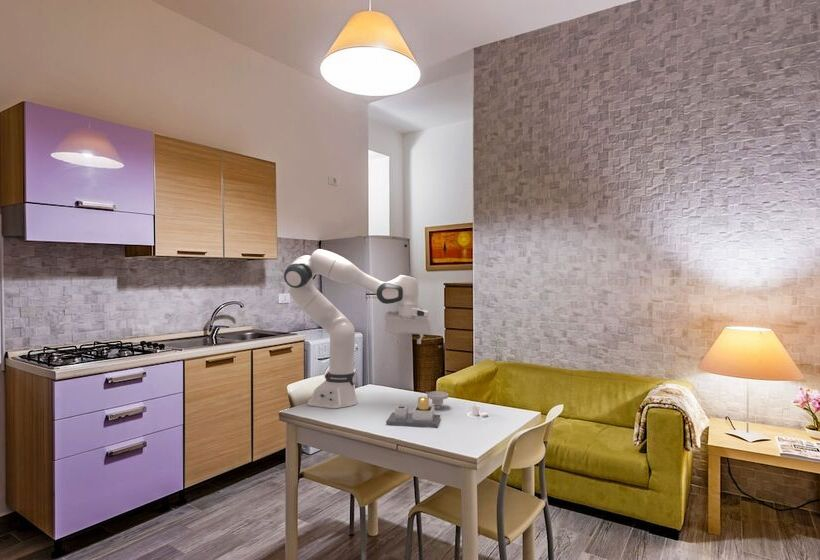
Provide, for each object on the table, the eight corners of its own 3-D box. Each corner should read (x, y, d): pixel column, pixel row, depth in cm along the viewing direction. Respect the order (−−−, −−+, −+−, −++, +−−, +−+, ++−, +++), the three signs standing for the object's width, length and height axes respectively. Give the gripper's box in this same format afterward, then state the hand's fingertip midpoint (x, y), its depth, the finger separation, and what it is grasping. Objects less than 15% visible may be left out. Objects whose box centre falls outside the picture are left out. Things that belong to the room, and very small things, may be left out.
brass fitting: (417, 419, 181) (417, 399, 181) (418, 416, 185) (418, 396, 185) (428, 420, 180) (428, 400, 180) (429, 417, 185) (429, 397, 185)
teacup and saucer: (490, 417, 191) (490, 407, 191) (475, 420, 187) (475, 410, 187) (477, 412, 198) (477, 402, 198) (462, 414, 194) (462, 405, 194)
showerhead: (425, 389, 208) (447, 389, 208) (425, 405, 208) (447, 405, 208) (425, 394, 198) (449, 394, 198) (425, 410, 198) (449, 411, 198)
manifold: (386, 424, 179) (386, 410, 179) (392, 415, 191) (392, 402, 191) (437, 427, 176) (437, 413, 176) (440, 418, 188) (440, 405, 188)
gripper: (383, 311, 198) (383, 343, 198) (430, 312, 194) (430, 345, 194) (386, 310, 204) (386, 341, 204) (432, 311, 200) (432, 343, 200)
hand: (408, 343), depth 199 cm, fingers open, 8 cm apart
